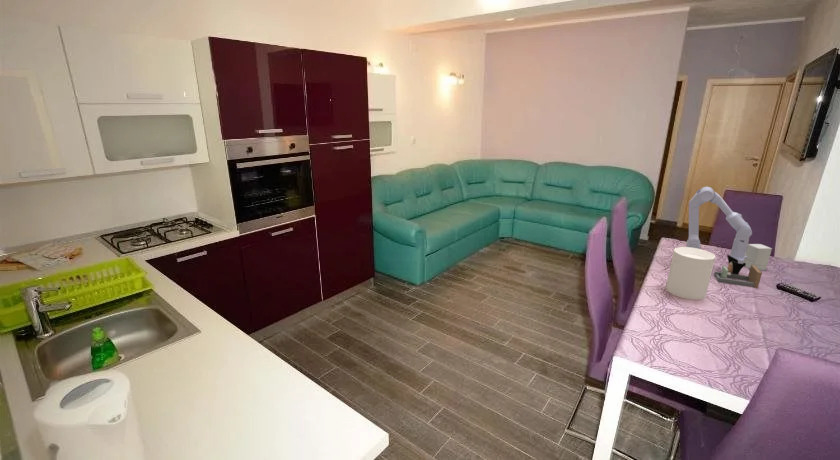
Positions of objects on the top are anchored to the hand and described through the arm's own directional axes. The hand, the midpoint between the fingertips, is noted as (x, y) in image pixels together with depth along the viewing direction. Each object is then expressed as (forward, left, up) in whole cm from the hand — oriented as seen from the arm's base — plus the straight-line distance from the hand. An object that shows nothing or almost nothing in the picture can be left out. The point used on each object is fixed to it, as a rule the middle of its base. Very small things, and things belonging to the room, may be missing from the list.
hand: (733, 271), depth 202 cm
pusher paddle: (-5, -10, -1) cm, 11 cm away
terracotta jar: (0, 0, -2) cm, 2 cm away
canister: (-26, -34, -2) cm, 43 cm away
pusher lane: (-2, -10, -1) cm, 10 cm away
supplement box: (+13, +15, -2) cm, 20 cm away
